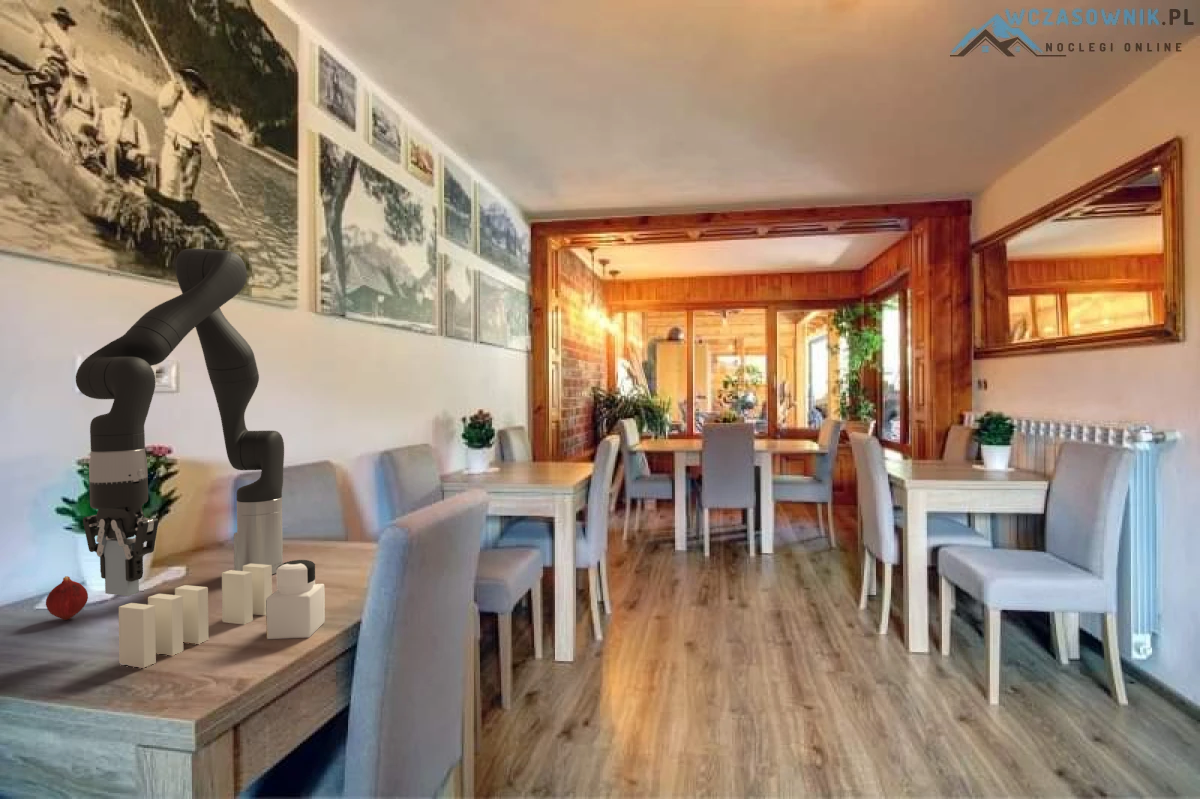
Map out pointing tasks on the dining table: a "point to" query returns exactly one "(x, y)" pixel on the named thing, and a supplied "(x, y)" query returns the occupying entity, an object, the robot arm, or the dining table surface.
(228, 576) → the domino
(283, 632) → the medicine bottle
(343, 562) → the dining table surface
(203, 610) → the domino
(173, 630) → the domino
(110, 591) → the domino
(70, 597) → the onion
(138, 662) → the domino
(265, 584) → the domino
